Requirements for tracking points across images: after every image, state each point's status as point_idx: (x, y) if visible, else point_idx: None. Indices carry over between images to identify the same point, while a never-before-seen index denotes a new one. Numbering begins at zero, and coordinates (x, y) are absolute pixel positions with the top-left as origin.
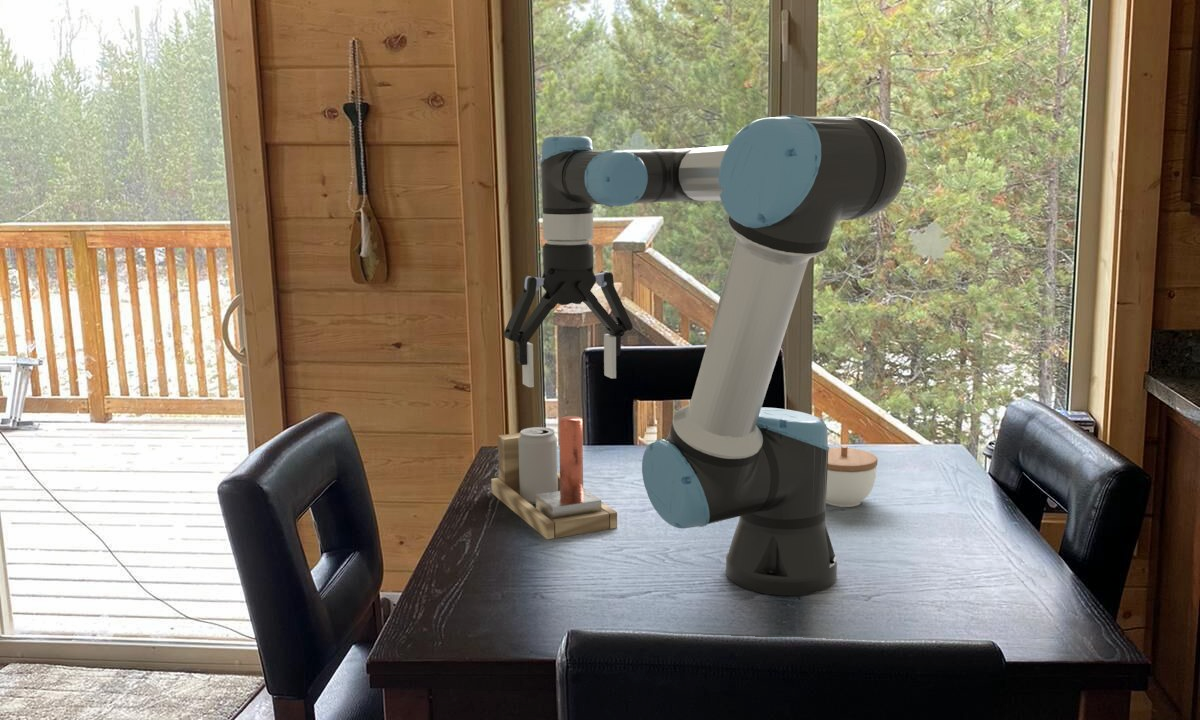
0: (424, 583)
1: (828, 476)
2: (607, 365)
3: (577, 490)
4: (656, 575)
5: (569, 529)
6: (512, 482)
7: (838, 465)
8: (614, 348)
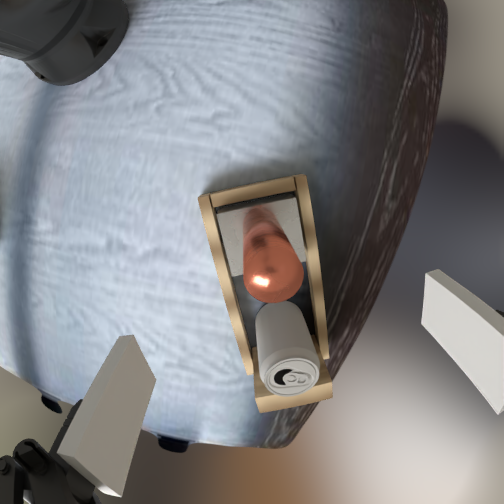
0: (434, 99)
1: None
2: (135, 387)
3: (255, 212)
4: (196, 36)
5: (270, 180)
6: None
7: None
8: (81, 412)
